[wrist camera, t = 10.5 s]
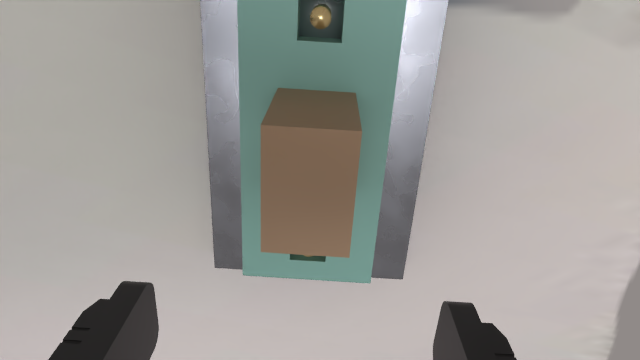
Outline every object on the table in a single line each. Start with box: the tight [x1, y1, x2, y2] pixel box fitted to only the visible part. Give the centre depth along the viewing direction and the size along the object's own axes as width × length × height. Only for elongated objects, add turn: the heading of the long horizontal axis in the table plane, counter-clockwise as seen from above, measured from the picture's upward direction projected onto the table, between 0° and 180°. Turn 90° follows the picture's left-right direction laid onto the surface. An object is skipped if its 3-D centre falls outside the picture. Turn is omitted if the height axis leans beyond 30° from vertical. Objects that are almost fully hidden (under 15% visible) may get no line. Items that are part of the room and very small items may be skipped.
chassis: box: [200, 0, 448, 279], centre depth 27 cm, size 14×24×6 cm, turn 177°
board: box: [237, 0, 407, 283], centre depth 22 cm, size 18×8×8 cm, turn 177°
